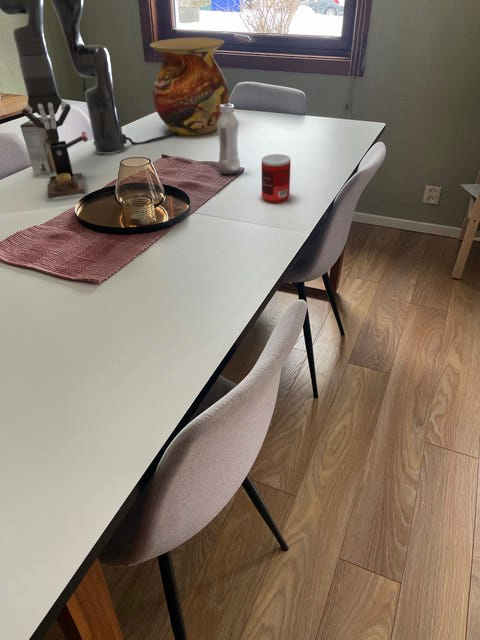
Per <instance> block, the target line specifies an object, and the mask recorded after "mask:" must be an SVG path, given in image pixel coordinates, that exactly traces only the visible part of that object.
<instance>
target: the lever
mask: <svg viewBox="0 0 480 640" xmlns="http://www.w3.org/2000/svg"><path fill="white" fill-rule="evenodd" d="M88 140H89V138H88V134H87V132H86V131H82V132H81V135H80V136H79V137H77V138H74V139H72V140H71V141H69V142H66V144H65V145H66V149H67V150H68V149H69V148H70V147H73V146H74V145H76V144H78V143H80V142H85V143H87V141H88ZM59 145H62V144H61V143H60V144H59ZM57 146H58V145H57Z"/></svg>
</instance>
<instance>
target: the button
mask: <svg viewBox="0 0 480 640" xmlns="http://www.w3.org/2000/svg"><path fill="white" fill-rule="evenodd" d="M55 176H56V179H57V183H67V182H70V181H71V176H70V174H68V173H62V174H59V175H57V174H56V175H55Z"/></svg>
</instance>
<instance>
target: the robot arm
mask: <svg viewBox="0 0 480 640" xmlns="http://www.w3.org/2000/svg"><path fill="white" fill-rule="evenodd" d="M50 2H51V5H52V7H53V9H54V12H55V14H56V17H57V20H58V22H59V25H60V28H61V30H62V34H63V37H64V39H65V42H66V46H67V49H68V53H69V57H70V60H71V63H72V65H73V68H74V70H75V72H76V73H77V75H78V76H79V77H82V78H96V85H94V86H93V87H90V88H88V89H86V90H85V92H84V97H85V102H86V107H87V112H88V116H89V123H90V126H91V132H92V138H93V146H94V148H95V153H96V154H98V155H106V156H107V155H115V154H118V153H121V152H122V151H123V150H124V149H126V148H125V145H126V144H127V142H128V141H129V143H130V144H131V145H135V146H137V145H144V144H148V143H151V142H155V141H159V140H163V139H167V138H169V137H172V136H175V135H179V134H178V133H177V132H174V133H173V132H171V133H168V134H165V135H161V136H157V137H154V138H150V139H147V140H144V141H140V142H139V141H138V142H137V141H133V139H132V138H130V137H128V136H126V134H125V133H123V130H122V129H123V128H122V123H121V121H120V120H119V119H118V113H117V107H116V102H115V96H114V82H113V73H112V65H111V57H110V54H109V52H108V49H107V48H106V47H105V46H104V45H99V44H84V41H83V39H82V36H81V32H80V31H81V30H80V23H81V18H82V14H83V9H84V0H50ZM0 11H2V12H3V13H4V14H6V15H9V16H18V15H19V16H21V15H22V16H23V15H27V16H28V17H27V22H26V24H24V25H20V26H17V27H15V28H14V29H13V31H12V35H13V39H14V43H15V47H16V52H17V55H18V60H19V61H18V62H19V66H20V67H19V68H20V71H21V74H22V78H23V82H24V86H25V90H26V94H27V104H26V105H25V107H22V109H21V113H22V115H23V116H25V117H26V118H27V119H28V120H31V121H32V122H33V123H34V124H35V125H36V126H38V127H39V128H44V129H45V130H46V132H47V136H48V140H49V141H51V142H52V143H57V141H58V140H59V141H60V135H59V131H58V128H59V127H62V126H63V125H64V123H65V120H66V118H67V117H68V115H69V113H70V111H71V109H72V108H71V107H72V106H71V104H70V103H66V102H65V101H63V100H62V97H61V96H60V95H59V92H58V87H57V83H56V79H55V74H54V68H53V65H52V61H51V58H50V55H49V52H48V48H47V44H46V40H45V34H44V33H45V32H44V0H0ZM60 106H61V108H60ZM59 109H60V110H61V113H60V115H59V118H57V119H56V114H57V113H58V111H59ZM33 111H34V112H35V113H36V114H37V115H38V116H40V117H42V120H43V122H41V121H40V120H39V119H38V118H37V117H38V116H36V115H35V114H34V113H33ZM48 116H49V117H48ZM48 118H50V120H51V127H52V128H50V124H49V121H48Z"/></svg>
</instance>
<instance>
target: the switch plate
mask: <svg viewBox="0 0 480 640" xmlns="http://www.w3.org/2000/svg"><path fill="white" fill-rule="evenodd" d="M85 191H86V190H85V185H84V179H81V180H77V179H76V177H74V176H71V181H70V182H67V183H57V179H56V178H55V179H54V180H52V183H50V182H49V183H47V196H48V197H47V198H48V199H51V198H52V199H53V198H59V197H66V196H74V195H75V196H76V195H80V194H81V195H82V194H85V193H86V192H85Z"/></svg>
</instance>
